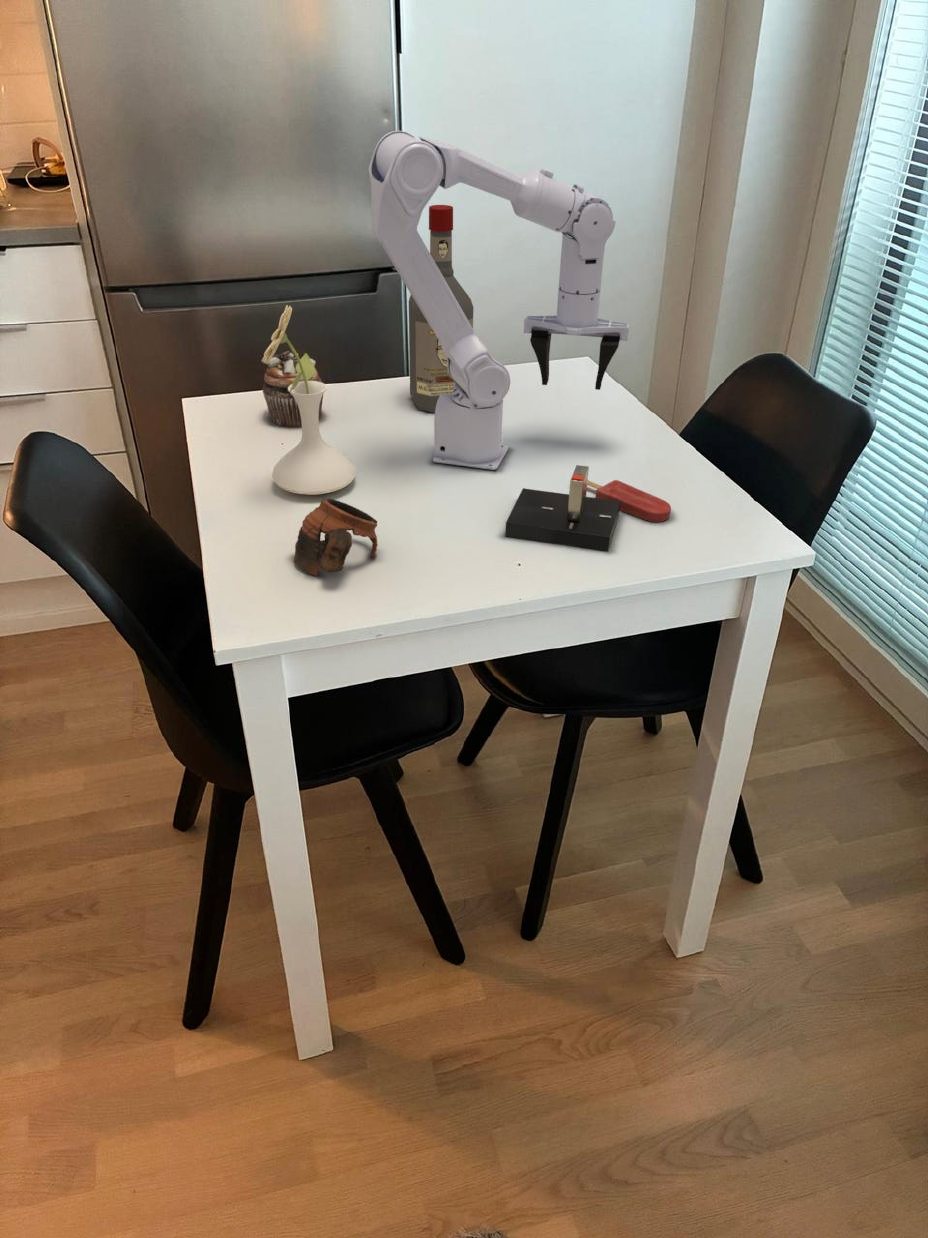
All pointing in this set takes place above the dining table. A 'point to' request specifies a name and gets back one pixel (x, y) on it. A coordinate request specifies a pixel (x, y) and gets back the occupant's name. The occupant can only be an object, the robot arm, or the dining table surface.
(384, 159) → the robot arm
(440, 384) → the liquor
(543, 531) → the knob box
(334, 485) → the flower in vase
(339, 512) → the pottery mug
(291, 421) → the cupcake
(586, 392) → the dining table surface
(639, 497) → the popsicle
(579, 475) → the knob
